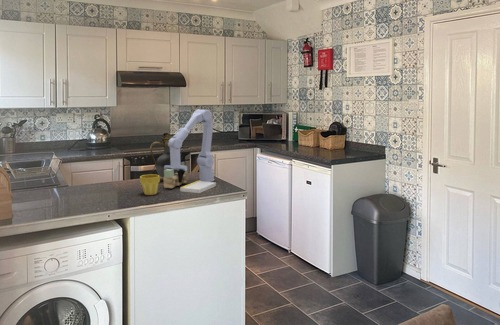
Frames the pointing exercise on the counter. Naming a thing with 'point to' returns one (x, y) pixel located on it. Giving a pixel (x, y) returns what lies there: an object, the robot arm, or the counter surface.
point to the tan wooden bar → (175, 180)
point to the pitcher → (163, 158)
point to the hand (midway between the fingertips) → (176, 181)
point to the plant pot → (150, 183)
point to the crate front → (169, 173)
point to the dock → (197, 187)
